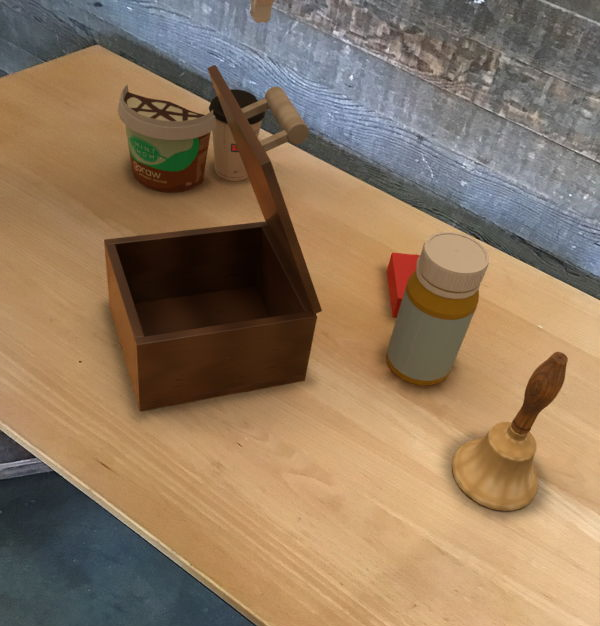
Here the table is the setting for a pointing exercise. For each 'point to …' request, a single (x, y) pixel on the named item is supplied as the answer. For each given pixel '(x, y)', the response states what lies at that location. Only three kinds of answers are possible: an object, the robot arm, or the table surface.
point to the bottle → (437, 308)
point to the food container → (165, 142)
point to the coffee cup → (231, 137)
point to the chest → (207, 313)
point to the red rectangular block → (399, 277)
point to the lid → (269, 168)
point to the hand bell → (510, 447)
